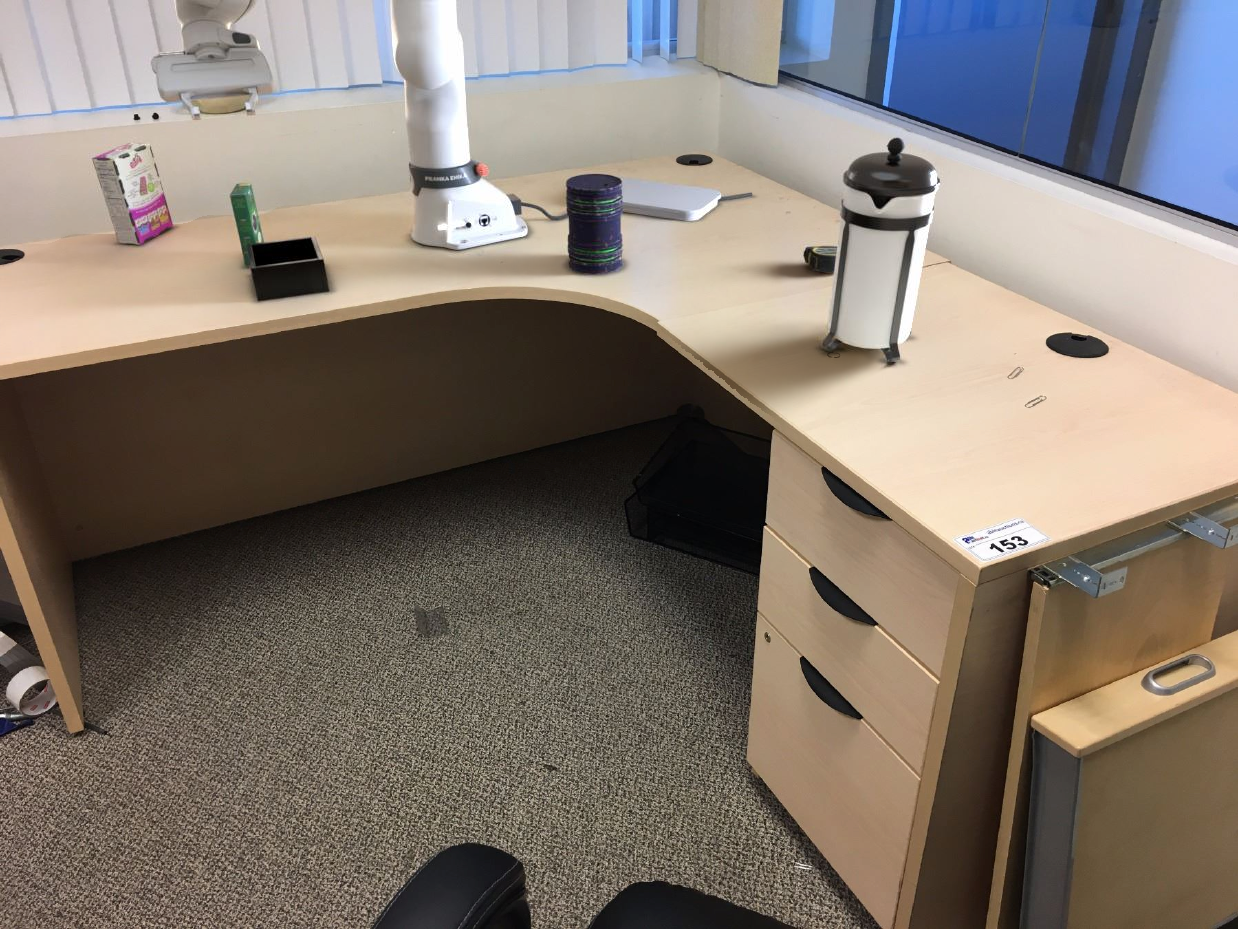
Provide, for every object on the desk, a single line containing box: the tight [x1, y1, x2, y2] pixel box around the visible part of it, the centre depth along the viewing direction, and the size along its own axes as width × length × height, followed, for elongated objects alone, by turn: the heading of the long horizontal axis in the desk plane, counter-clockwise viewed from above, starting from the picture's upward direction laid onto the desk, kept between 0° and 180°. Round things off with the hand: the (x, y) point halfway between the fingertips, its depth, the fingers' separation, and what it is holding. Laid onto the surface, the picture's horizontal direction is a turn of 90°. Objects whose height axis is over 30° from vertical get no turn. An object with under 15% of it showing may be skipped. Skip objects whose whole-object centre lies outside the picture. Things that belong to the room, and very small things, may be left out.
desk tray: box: [246, 235, 330, 302], centre depth 161 cm, size 12×13×6 cm
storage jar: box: [565, 173, 624, 276], centre depth 165 cm, size 10×10×15 cm
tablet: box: [619, 177, 722, 222], centre depth 199 cm, size 16×26×2 cm, turn 64°
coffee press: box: [821, 137, 941, 364], centre depth 134 cm, size 17×16×30 cm
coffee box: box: [229, 182, 265, 268], centre depth 169 cm, size 8×3×13 cm, turn 11°
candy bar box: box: [91, 142, 174, 246], centre depth 179 cm, size 11×5×16 cm, turn 168°
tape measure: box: [803, 245, 838, 274], centre depth 166 cm, size 7×7×4 cm
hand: (224, 115), depth 172 cm, fingers open, 8 cm apart
